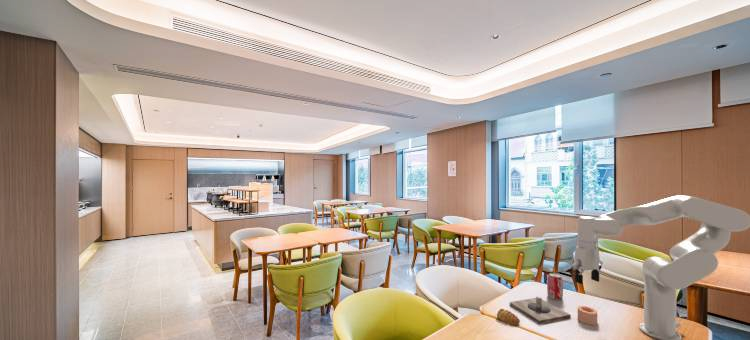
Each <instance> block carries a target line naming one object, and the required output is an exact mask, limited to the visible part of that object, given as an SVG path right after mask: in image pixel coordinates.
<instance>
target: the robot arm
mask: <svg viewBox="0 0 750 340" xmlns="http://www.w3.org/2000/svg"><path fill="white" fill-rule="evenodd" d="M680 218H688V219H690V220H693V221H697V222H700V223H701V225H700V227H699V229H698V230H697V231H696V232H695V233H693V234H691V235H690V236H688V237H687V238H685V239H683V240H682V241H680V242H678V243H676V244H675V245H673V246H672V247H671V248H670V250H669V256H670V257H671V259H672V261H670V260H669V259H667V258H664V257H660V256H649V257H648V258H646V259H645V260H644V261H643V263H642V275H643V285H644V286H643V287H644V289H643V290H644V293H643V298H644V299H643V300H644V301H643V322H640V323H639V324H638V327H639V330H640V331H641V332H643V334H646V335H648V336H650V337H652V338H655V339H657V340H682V335H681V333H679V332H678V331H677V328H678V329H679V328H681V327H682V324H681V323H680V322H679V321H677V297H678V296H677V295H678V294H677V291H678V290H679V291H680V290H683V289H685V288H687V287H689V286H691V285H694V284H695V283H697V282H699V281H701V280H702V279H704V278H706V277H708V276H710V275H712V274H713V273H714V272H715V271H716V270H717V268H718V266H719V260H718V257H717V256H716V255H715V254H716V253H718V252H720V251H721V250H723V249H724V248H725V247H726V246H727V245H728V244H729V242H730V240H731V238H732V237H731V235H732V232H743V231H747V230H748V229H749V228H750V214H748V212H746V211H744V210H742V209H739V208H736V207H732V206H730V205H729V206H728V205H725V204H721V203H718V202H713V201H711V200H708V199H704V198H701V197H697V196H691V195H685V194H677V195H675V196H674V195H673V196H670V197H667V198H663V199H659V200H657V201H653V202H649V203H647V204H643V205H637V206H634V207H633V206H632V207H628V208H623V209H617V210H614V211H611V212H607V213H605V214H601V215H599V216H597V217H595V216H590V215H589V216H587V215H586V216H585V215H581V216H579V217H578V218H577V241H576V242H577V243H576V245H577V246H576V247H575V250H574V259H573V260H574V261H573V263H572V264H571V269H572V271H573V273H574V282H575V283H577V284H581V285H583V282H584V275H583V274H584V271H590V275H591V277H590V279H591V280H593V281H595V282H598V283H599V282H600V273H601V270H602V266H603V264H604V261H602V260H600V251H599V235H604V236H607V237H616V236H619V235H621V234H622V233H623V231H624V227H626V226H655V225H659V224H662V223H666V222H669V221H673V220H678V219H680Z"/></svg>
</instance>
